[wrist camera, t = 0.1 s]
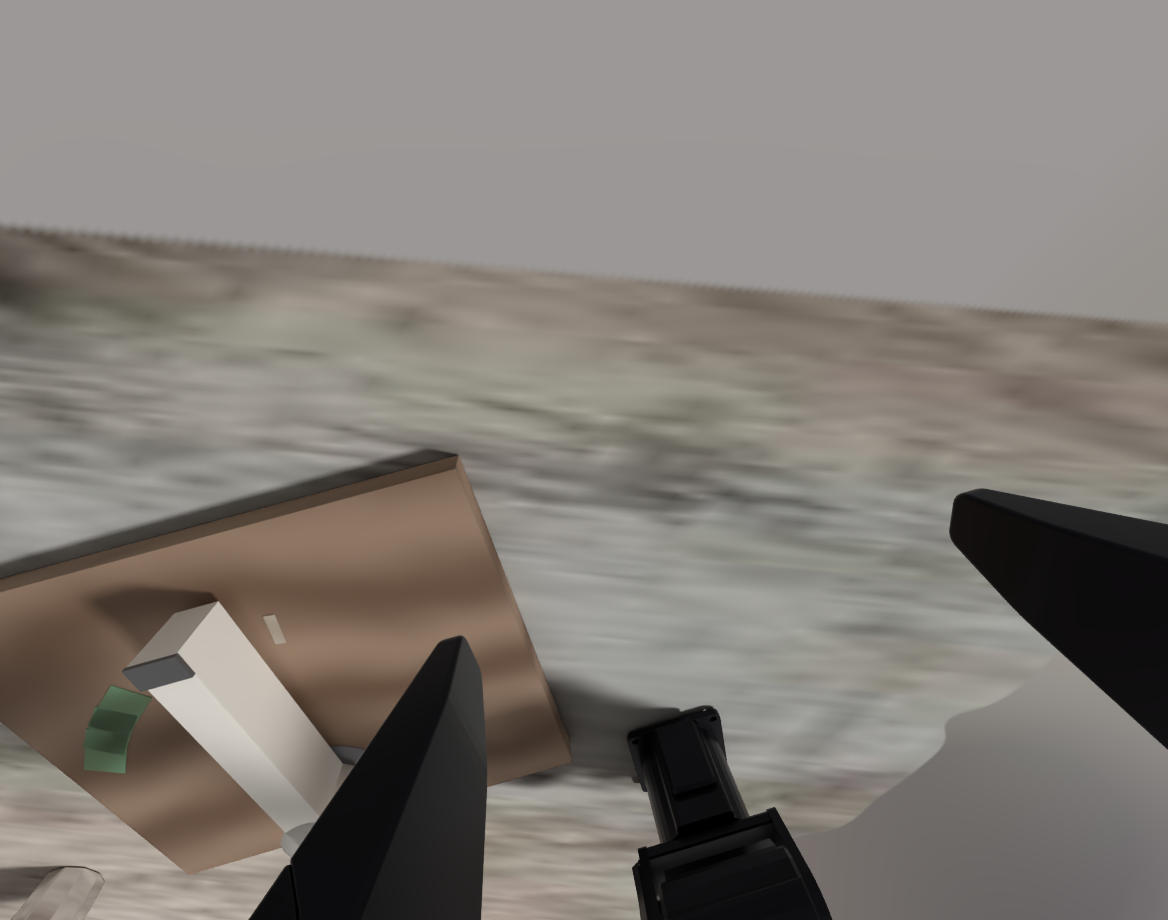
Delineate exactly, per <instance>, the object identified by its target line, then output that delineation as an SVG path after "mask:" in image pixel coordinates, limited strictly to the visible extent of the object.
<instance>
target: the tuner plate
mask: <svg viewBox="0 0 1168 920" xmlns="http://www.w3.org/2000/svg"><path fill="white" fill-rule="evenodd" d="M217 601H219V603H220V604H221V605H222V607H223V608H224V609H225V610H226V612H227V613H228V614H229V616H230V617H231V618H232V620H233V621H234V622H235V624H236V625H237V626H238V627H239V629H240V630H241V631H242V633H243V634H244V635H245V637H246V638H247V639H248V641H249V642H250V643H251V644H252V646H253V647H254V648H255V650H256V651H257V652H258V654H259V655H260V656H261V658H262V659H263V660H264V661H265V663H266V664H267V665H268V667H269V668H270V669H271V671H272V672H273V673H274V675H275V676H276V677H277V678H278V680H279V681H280V682H281V684H282V685H283V686H284V688H285V689H286V690H287V692H288V693H289V694H290V695H291V697H292V698H293V699H294V701H295V702H296V703H297V705H298V706H299V707H300V709H301V710H302V711H303V712H304V714H305V715H306V716H307V718H308V719H309V720H310V722H311V723H312V724H313V725H314V727H315V728H316V729H317V731H318V732H319V733H320V735H321V736H322V737H323V739H324V740H325V741H326V742H327V744H328V745H329V746H330V748H331V749H332V750H333V752H334V753H335V754H336V756H337V757H338V758H339V759H340V761H341V762H342V763H343V764H349V765H353V766H354V765H355V764H356V762H357V761H358V759H359V758H360V756H361V755H362V753H363V752H364V751H365V749H366V748H367V746H368V745H369V743H370V742H371V740H372V739H373V737H374V736H375V734H376V733H377V731H378V730H379V729H380V727H381V726H382V724H383V723H384V721H385V720H386V718H387V717H388V715H389V714H390V712H391V711H392V709H393V708H394V707H395V705H396V704H397V702H398V701H399V699H400V698H401V696H402V695H403V693H404V692H405V690H406V689H407V687H408V686H409V685H410V683H411V682H412V680H413V679H414V677H415V676H416V674H417V673H418V671H419V670H420V668H421V667H422V665H423V664H424V663H425V661H426V660H427V658H428V657H429V655H430V654H431V652H432V651H433V649H434V648H435V646H436V645H437V644H438V643H439V642H440V641H442V640H444V639H447V638H451V637H455V636H458V635H462V636H464V637H465V638H466V639H467V641H468V643H469V645H470V648H471V650H472V652H473V654H474V656H475V658H476V660H477V662H478V664H479V667H480V670H481V674H482V683H483V700H484V717H485V734H486V750H487V787H489V786H493V785H496V784H500V783H503V782H506V781H510V780H513V779H517V778H520V777H523V776H527V775H530V774H534V773H537V772H540V771H544V770H547V769H551V768H554V767H557V766H561V765H564V764H568V763H571V762H572V755H571V747H570V740H569V737H568V735H567V732H566V729H565V727H564V724H563V722H562V719H561V717H560V714H559V711H558V709H557V706H556V704H555V701H554V699H553V696H552V693H551V691H550V688H549V686H548V683H547V681H546V678H545V676H544V673H543V670H542V668H541V665H540V663H539V660H538V658H537V655H536V652H535V650H534V647H533V645H532V642H531V640H530V637H529V634H528V632H527V629H526V627H525V624H524V622H523V619H522V616H521V614H520V611H519V609H518V606H517V604H516V601H515V598H514V596H513V593H512V591H511V588H510V586H509V583H508V580H507V578H506V575H505V573H504V570H503V568H502V565H501V562H500V560H499V557H498V555H497V552H496V550H495V547H494V544H493V542H492V539H491V537H490V534H489V532H488V529H487V526H486V524H485V521H484V519H483V516H482V514H481V511H480V508H479V506H478V503H477V501H476V498H475V496H474V493H473V490H472V488H471V485H470V483H469V480H468V478H467V475H466V472H465V470H464V467H463V465H462V462H461V460H460V457H459V455H456V456H453V457H449V458H445V459H442V460H438V461H434V462H431V463H427V464H423V465H420V466H416V467H412V468H408V469H405V470H401V471H397V472H394V473H390V474H386V475H383V476H379V477H375V478H371V479H368V480H364V481H360V482H357V483H353V484H349V485H346V486H342V487H338V488H335V489H331V490H327V491H323V492H320V493H316V494H312V495H309V496H305V497H301V498H298V499H294V500H290V501H286V502H283V503H279V504H275V505H272V506H268V507H264V508H261V509H257V510H253V511H250V512H246V513H242V514H238V515H235V516H231V517H227V518H224V519H220V520H216V521H213V522H209V523H205V524H201V525H198V526H194V527H190V528H187V529H183V530H179V531H176V532H172V533H168V534H165V535H161V536H157V537H153V538H150V539H146V540H142V541H139V542H135V543H131V544H128V545H124V546H120V547H117V548H113V549H109V550H105V551H102V552H98V553H94V554H91V555H87V556H83V557H80V558H76V559H72V560H68V561H65V562H61V563H57V564H54V565H50V566H46V567H43V568H39V569H35V570H32V571H28V572H24V573H20V574H17V575H13V576H9V577H6V578H2V579H0V721H1V722H2V723H3V724H4V725H6V726H7V727H8V728H9V729H10V730H12V731H13V732H14V733H15V734H17V735H18V736H19V737H20V738H22V739H23V740H24V741H25V742H26V743H28V744H29V745H30V746H31V747H33V748H34V749H35V750H36V751H37V752H39V753H40V754H41V755H42V756H44V757H45V758H46V759H47V760H49V761H50V762H51V763H52V764H53V765H55V766H56V767H57V768H58V769H60V770H61V771H62V772H63V773H64V774H66V775H67V776H68V777H69V778H71V779H72V780H73V781H74V782H76V783H77V784H78V785H79V786H80V787H82V788H83V789H84V790H85V791H87V792H88V793H89V794H90V795H91V796H93V797H94V798H95V799H96V800H98V801H99V802H100V803H101V804H103V805H104V806H105V807H106V808H107V809H109V810H110V811H111V812H112V813H114V814H115V815H116V816H117V817H119V818H120V819H121V820H122V821H123V822H125V823H126V824H127V825H128V826H130V827H131V828H132V829H133V830H134V831H136V832H137V833H138V834H139V835H141V836H142V837H143V838H144V839H146V840H147V841H148V842H149V843H150V844H152V845H153V846H154V847H155V848H157V849H158V850H159V851H160V852H161V853H163V854H164V855H165V856H166V857H168V858H169V859H170V860H171V861H173V862H174V863H175V864H176V865H177V866H179V867H180V868H181V869H182V870H184V871H185V872H186V873H187V874H188V875H190V874H193V873H197V872H200V871H204V870H207V869H210V868H214V867H217V866H221V865H224V864H227V863H231V862H234V861H238V860H241V859H244V858H248V857H251V856H255V855H258V854H261V853H265V852H268V851H272V850H275V849H278V848H282V847H281V839H282V837H283V834H284V831H283V830H282V829H281V828H280V827H279V826H278V825H277V824H276V823H275V822H274V821H273V820H272V818H271V817H270V816H269V815H268V814H267V813H266V812H265V811H264V810H263V809H262V808H261V807H260V806H259V805H258V804H257V803H256V802H255V801H254V800H253V799H252V798H251V797H250V796H249V795H248V794H247V793H246V791H245V790H244V789H243V788H242V787H241V786H240V785H239V784H238V783H237V782H236V781H235V780H234V779H233V778H232V777H231V776H230V775H229V774H228V773H227V772H226V771H225V770H224V769H223V768H222V767H221V766H220V764H219V763H218V762H217V761H216V760H215V759H214V758H213V757H212V756H211V755H210V754H209V753H208V752H207V751H206V750H205V749H204V748H203V747H202V746H201V745H200V744H199V743H198V742H197V741H196V740H195V739H194V737H193V736H192V735H191V734H190V733H189V732H188V731H187V730H186V729H185V728H184V727H183V726H182V725H181V724H180V723H179V722H178V721H177V720H176V719H175V718H174V717H173V716H172V715H171V714H170V713H169V712H168V710H167V709H166V708H165V707H164V706H163V705H162V704H161V703H160V702H159V701H158V700H157V699H156V698H155V697H154V696H153V695H152V694H151V693H150V692H149V691H148V690H147V691H143V692H140V691H139V690H138V689H137V688H136V687H135V686H134V685H133V684H132V683H131V682H130V681H129V680H128V679H127V678H126V677H125V675H124V674H123V673H122V670H123V669H124V668H126V667H127V666H128V665H129V664H130V663H131V661H132V660H133V659H134V658H135V657H136V656H137V655H138V654H139V652H140V651H141V650H142V649H143V648H144V647H145V646H146V645H147V644H148V642H149V641H150V640H151V639H152V638H153V637H154V636H155V635H156V633H157V632H158V631H159V630H160V629H161V628H162V627H163V626H164V624H165V623H166V622H167V621H168V620H169V619H170V618H171V617H172V615H173V614H174V613H177V612H181V611H185V610H188V609H192V608H196V607H199V606H203V605H206V604H210V603H214V602H217Z"/></svg>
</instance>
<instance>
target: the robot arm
mask: <svg viewBox="0 0 1168 920" xmlns="http://www.w3.org/2000/svg"><path fill="white" fill-rule="evenodd" d="M949 533H950V537H951V540H952V542H953V543H954V545H955V546H956V547H957V548H958V549H959V550H960V551H961V552H962V554H963V555H964V556H965V557H966V558H967V559H968V560H969V561H970V562H971V563H972V564H973V565H974V566H975V568H976V569H977V570H978V571H979V572H980V573H981V574H982V575H983V576H984V577H985V578H986V579H987V581H988V582H989V583H990V584H991V585H992V586H993V587H994V588H995V589H996V590H997V591H998V592H999V593H1000V595H1001V596H1002V597H1003V598H1004V599H1005V600H1006V601H1007V602H1008V603H1009V604H1010V605H1011V606H1012V607H1013V608H1014V609H1015V610H1016V611H1017V612H1018V613H1019V615H1020V616H1022V617H1023V618H1024V619H1025V620H1026V621H1027V622H1028V623H1029V624H1030V625H1031V626H1032V627H1033V628H1034V629H1035V630H1036V631H1038V632H1039V633H1040V634H1041V635H1042V636H1043V637H1044V638H1045V639H1046V640H1047V641H1049V642H1050V643H1051V644H1052V645H1053V646H1054V647H1055V648H1056V649H1057V650H1058V651H1060V652H1061V653H1062V654H1063V655H1064V656H1065V657H1066V658H1067V659H1068V660H1069V661H1071V662H1072V663H1073V664H1074V665H1075V666H1076V667H1077V668H1079V670H1081V671H1082V672H1083V673H1084V674H1085V675H1086V676H1087V677H1088V678H1089V679H1090V680H1091V681H1093V682H1094V683H1095V684H1096V685H1097V686H1098V687H1099V688H1100V689H1101V690H1102V691H1104V692H1105V693H1106V694H1107V695H1108V696H1109V697H1110V698H1111V699H1112V700H1114V701H1115V702H1116V703H1117V704H1118V705H1119V706H1120V707H1121V708H1122V709H1123V710H1125V711H1126V712H1127V713H1128V714H1129V715H1130V716H1131V717H1132V718H1133V719H1134V720H1136V721H1137V722H1138V723H1139V724H1140V725H1141V726H1142V727H1143V728H1144V729H1145V730H1146V731H1148V732H1149V733H1150V734H1151V735H1152V736H1153V737H1154V738H1155V739H1156V740H1158V741H1159V742H1160V743H1161V744H1162V745H1163V746H1164V747H1165V748H1166V749H1167V750H1168V524H1163V523H1158V522H1153V521H1148V520H1143V519H1137V518H1132V517H1127V516H1122V515H1117V514H1112V513H1107V512H1102V511H1097V510H1092V509H1086V508H1081V507H1076V506H1071V505H1066V504H1061V503H1056V502H1051V501H1046V500H1040V499H1035V498H1030V497H1025V496H1020V495H1015V494H1010V493H1005V492H1000V491H995V490H989V489H975V490H972V491H968V492H964V493H961V494H959V495H957V496H956V498H955V499H954V502H953V508H952V515H951V522H950V529H949ZM627 740H628V744H629V747H630V751H631V754H632V757H633V761H634V764H635V767H636V771H637V774H638V777H639V781H640V784H641V787H642V790H643V791H644V792H648V796H649V800H650V804H651V808H652V811H653V815H654V819H655V823H656V827H657V831H658V835H659V839H660V843H661V844H658V845H655V846H651V847H648V848H647V847H646V846H645V847H642V848H638V853H639V859H640V860H638V862H637V863H636V864H635V865H634V866H633V867H632V870H633V875H634V880H635V885H636V891H637V896H638V902H639V908H640V916H641V920H832V917H831V915H830V912H829V910H828V907H827V905H826V902H825V900H824V898H823V896H822V893H821V891H820V889H819V887H818V885H817V883H816V880H815V879H814V877H813V875H812V873H811V871H810V869H809V867H808V866H807V864H806V862H805V860H804V858H803V857H802V855H801V853H800V851H799V849H798V848H797V846H796V844H795V842H794V841H793V839H792V837H791V835H790V833H789V831H788V830H787V828H786V826H785V824H784V822H783V821H782V819H781V817H780V815H779V813H778V812H777V810H776V808H775V807H773V808H770V809H766V812H763V813H760V814H756V815H753V816H749V814H748V811H747V809H746V807H745V804H744V802H743V800H742V797H741V795H740V792H739V790H738V788H737V785H736V783H735V780H734V778H733V776H732V773H731V771H730V768H729V766H728V764H727V759H726V752H725V745H724V739H723V732H722V726H721V719H720V716H719V713H718V711H717V710H716V709H709V710H706V711H702V712H699V713H696V714H692V715H689V716H685V717H682V718H679V719H675V720H672V721H668V722H665V723H662V724H658V725H655V726H651V727H648V728H644V729H641V730H638V731H634V732H631V733H630V734H628V736H627ZM486 799H487V750H486V734H485V717H484V700H483V683H482V674H481V670H480V667H479V664H478V662H477V660H476V658H475V656H474V654H473V652H472V650H471V648H470V645H469V643H468V641H467V639H466V638H465V637H464V636H462V635H458V636H455V637H451V638H447V639H444V640H442V641H440V642H439V643H438V644H437V645H436V646H435V648H434V649H433V651H432V652H431V654H430V655H429V657H428V658H427V660H426V661H425V663H424V664H423V665H422V667H421V668H420V670H419V671H418V673H417V674H416V676H415V677H414V679H413V680H412V682H411V683H410V685H409V686H408V687H407V689H406V690H405V692H404V693H403V695H402V696H401V698H400V699H399V701H398V702H397V704H396V705H395V707H394V708H393V709H392V711H391V712H390V714H389V715H388V717H387V718H386V720H385V721H384V723H383V724H382V726H381V727H380V729H379V730H378V731H377V733H376V734H375V736H374V737H373V739H372V740H371V742H370V743H369V745H368V746H367V748H366V749H365V751H364V752H363V753H362V755H361V756H360V758H359V759H358V761H357V762H356V764H355V765H354V767H353V768H352V770H351V771H350V773H349V774H348V775H347V777H346V778H345V780H344V781H343V783H342V784H341V786H340V787H339V789H338V790H337V792H336V793H335V794H334V796H333V797H332V799H331V800H330V802H329V803H328V805H327V806H326V808H325V809H324V811H323V812H322V814H321V815H320V816H319V818H318V819H317V821H316V822H315V824H314V825H313V827H312V828H311V830H310V831H309V833H308V834H307V836H306V837H305V838H304V840H303V841H302V843H301V844H300V846H299V847H298V849H297V850H296V852H295V853H294V855H293V856H292V858H291V860H290V864H291V865H287V866H285V868H284V869H283V870H282V872H281V873H280V875H279V876H278V878H277V879H276V881H275V882H274V884H273V885H272V886H271V888H270V889H269V891H268V892H267V894H266V895H265V897H264V898H263V900H262V901H261V903H260V904H259V905H258V907H257V908H256V910H255V911H254V912H253V914H252V915H251V917H250V918H249V920H481V906H482V884H483V863H484V842H485V820H486Z"/></svg>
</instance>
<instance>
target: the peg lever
mask: <svg viewBox="0 0 1168 920" xmlns="http://www.w3.org/2000/svg"><path fill="white" fill-rule="evenodd" d="M122 673H123V674H124V675H125V677H126V678H127V679H128V680H129V681H130V682H131V683H132V684H133V685H134V686H135V687H136V688H137V689H138V690H139V691H140V692H143V691H147V690H148V691H149V692H150V693H151V694H152V695H153V696H154V697H155V698H156V699H157V700H158V701H159V702H160V703H161V704H162V705H163V706H164V707H165V708H166V709H167V710H168V712H169V713H170V714H171V715H172V716H173V717H174V718H175V719H176V720H177V721H178V722H179V723H180V724H181V725H182V726H183V727H184V728H185V729H186V730H187V731H188V732H189V733H190V734H191V735H192V736H193V737H194V739H195V740H196V741H197V742H198V743H199V744H200V745H201V746H202V747H203V748H204V749H205V750H206V751H207V752H208V753H209V754H210V755H211V756H212V757H213V758H214V759H215V760H216V761H217V762H218V763H219V764H220V766H221V767H222V768H223V769H224V770H225V771H226V772H227V773H228V774H229V775H230V776H231V777H232V778H233V779H234V780H235V781H236V782H237V783H238V784H239V785H240V786H241V787H242V788H243V789H244V790H245V791H246V793H247V794H248V795H249V796H250V797H251V798H252V799H253V800H254V801H255V802H256V803H257V804H258V805H259V806H260V807H261V808H262V809H263V810H264V811H265V812H266V813H267V814H268V815H269V816H270V817H271V818H272V820H273V821H274V822H275V823H276V824H277V825H278V826H279V827H280V828H281V829H282V830H283V831H284V834H283V837H282V839H281V847H282V849H283V851H284V852H285V853H286V854H287V855H289V856H290V857H292V856H293V855H294V853H295V852H296V850H297V849H298V847H299V846H300V844H301V843H302V841H303V840H304V838H305V837H306V836H307V834H308V833H309V831H310V830H311V828H312V827H313V825H314V824H315V822H316V821H317V819H318V818H319V816H320V815H321V814H322V812H323V811H324V809H325V808H326V806H327V805H328V803H329V802H330V800H331V799H332V797H333V796H334V794H335V793H336V792H337V790H338V789H339V787H340V786H341V784H342V783H343V781H344V780H345V778H346V777H347V775H348V774H349V773H350V771H351V770H352V768H353V767H354V766H353V765H349V764H343V763H342V762H341V761H340V759H339V758H338V757H337V756H336V754H335V753H334V752H333V750H332V749H331V748H330V746H329V745H328V744H327V742H326V741H325V740H324V739H323V737H322V736H321V735H320V733H319V732H318V731H317V729H316V728H315V727H314V725H313V724H312V723H311V722H310V720H309V719H308V718H307V716H306V715H305V714H304V712H303V711H302V710H301V709H300V707H299V706H298V705H297V703H296V702H295V701H294V699H293V698H292V697H291V695H290V694H289V693H288V692H287V690H286V689H285V688H284V686H283V685H282V684H281V682H280V681H279V680H278V678H277V677H276V676H275V675H274V673H273V672H272V671H271V669H270V668H269V667H268V665H267V664H266V663H265V661H264V660H263V659H262V658H261V656H260V655H259V654H258V652H257V651H256V650H255V648H254V647H253V646H252V644H251V643H250V642H249V641H248V639H247V638H246V637H245V635H244V634H243V633H242V631H241V630H240V629H239V627H238V626H237V625H236V624H235V622H234V621H233V620H232V618H231V617H230V616H229V614H228V613H227V612H226V610H225V609H224V608H223V607H222V605H221V604H220V603H219V601H217V602H214V603H210V604H206V605H203V606H199V607H196V608H192V609H188V610H185V611H181V612H177V613H174V614H173V615H172V617H171V618H170V619H169V620H168V621H167V622H166V623H165V624H164V626H163V627H162V628H161V629H160V630H159V631H158V632H157V633H156V635H155V636H154V637H153V638H152V639H151V640H150V641H149V642H148V644H147V645H146V646H145V647H144V648H143V649H142V650H141V651H140V652H139V654H138V655H137V656H136V657H135V658H134V659H133V660H132V661H131V663H130V664H129V665H128V666H127V667H126V668H124V669H123V670H122Z"/></svg>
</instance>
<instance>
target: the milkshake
mask: <svg viewBox="0 0 1168 920" xmlns="http://www.w3.org/2000/svg"><path fill="white" fill-rule="evenodd" d="M104 883H105V882H104V880H103V878H102V877H101V875H100V874H99V873H97V872H94V871H91V870H89V869H86V868H74V867H65V868H61V869H58V870H54V871H51V872H49V873H48V874H47V875H46V877H45V878H44V879H43V880H42V882H41V883H40V884H39V885H38V886H37V888H36V889H35V890H34V891H33V893H32V894H31V895H30V896H29V898H28V899H27V900H26V901H25V903H24V904H23V905H22V906H21V908H20V909H19V910H18V911H17V913H16V914H15V915H14V916H13V918H12V919H11V920H85V918H86V916H87V914H88V912H89V911H90V909H91V907H92V905H93V903H94V902H95V900H96V898H97V896H98V894H99V893H100V891H101V889H102V887H103V885H104Z"/></svg>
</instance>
